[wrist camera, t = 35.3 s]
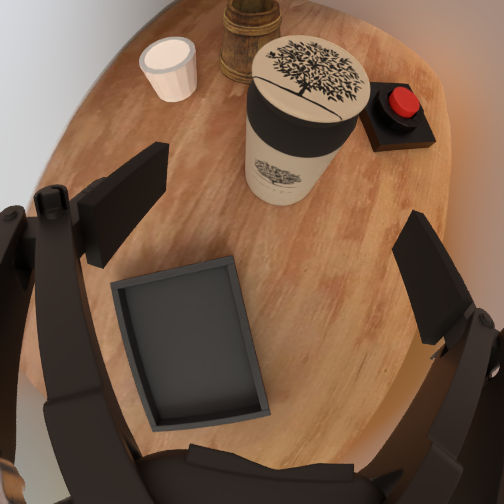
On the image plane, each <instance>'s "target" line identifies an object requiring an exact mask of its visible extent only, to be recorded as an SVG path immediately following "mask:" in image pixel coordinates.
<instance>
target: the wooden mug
mask: <svg viewBox="0 0 504 504" xmlns="http://www.w3.org/2000/svg"><path fill="white" fill-rule="evenodd" d="M281 22H282V17H281V11H280V9H279V3H278V2H277V1H275V0H229V1H228V3H227V7H226V8H225V11H224V17H223V23H224V36H223V44H222V48H221V51H220V69H221V71H222V72H223V74H225V75H226V76H227V77H229V78H231V79H233V80H235V81H238V82H242V83H251V81H252V80H253V76H252V63H253V60H254V57H255V56H256V54H257V52H258V51H259V50H260V49H261V48H262V47H263V46H264V45H266V44H267V43H269V42H271V41H273V40H275V39H278V38H280V25H281Z"/></svg>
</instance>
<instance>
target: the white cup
mask: <svg viewBox="0 0 504 504" xmlns="http://www.w3.org/2000/svg"><path fill="white" fill-rule="evenodd" d="M139 64H140V67H141V69H142V70H143V72H144V74H145V75H146V77H147V78H148V80H149V82H150V83H151V85H152V87H153V88H154V90H155V91H156V93H157V95H158V96H159V97H160V98H161V99H162V100H164V101H166V102H178V101H182V100H184V99H186V98H188V97H189V96H191V95H192V93H193V92H194V91H195V90H196V87H197V70H196V50H195V46H194V43H193V42H191V41H190V40H189V39H187V38H183V37H168V38H164V39H161V40H158V41H156V42H155V43H153V44H151V45H150V46H148V47H147V48H146V49H145V50H144V51H143V53H142V55H141V57H140V58H139Z"/></svg>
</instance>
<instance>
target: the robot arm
mask: <svg viewBox="0 0 504 504" xmlns="http://www.w3.org/2000/svg"><path fill="white" fill-rule="evenodd" d="M168 154H169V144H168V143H161V142H155V143H153V144H152V145H150V146H149V147H147V148H146V149H144V150H143V151H142V152H140V153H139V154H137V155H136V156H135V157H133V158H132V159H130V160H129V161H128V162H126V163H125V164H124V165H122V166H121V167H120V168H118V169H117V170H116V171H114V172H113V173H112V174H110V175H109V176H108V177H102V178H100V179H98V180H95V181H93V182H92V183H91V184H90V185H88V186H87V188H85V189H83V190H82V191H81V192H80V193H79V194H77V195H76V196H75V197H74V198H73V199H71V200H70V201H69V198H68V190H67V188H66V187H65V186H63V185H58V184H56V185H50V186H47V187H44V188H42V189H40V190H39V191H38V192H37V193H35V195H34V202H35V207H36V211H37V216H38V217H26V213H25V209H24V207H22V206H19V205H18V206H17V205H15V206H10V207H8V208H6V209H4V210H3V211H2V212H1V213H0V504H26V502H25V499H24V497H23V493H22V492H23V491H24V490H25V482H24V480H23V478H22V477H21V476H20V475H19V473H18V471H17V469H16V467H15V466H14V461H15V450H16V401H17V384H18V372H19V362H20V354H21V347H22V340H23V334H24V328H25V323H26V318H27V313H28V308H29V303H30V299H31V295H32V291H33V287H34V283H35V304H36V320H37V332H38V341H39V349H40V357H41V363H42V370H43V375H44V381H45V386H46V391H47V401H46V402H45V403H44V406H43V412H44V418H45V423H46V426H47V430H48V434H49V437H50V440H51V444H52V447H53V450H54V453H55V456H56V459H57V462H58V465H59V468H60V471H61V473H62V476H63V478H64V481H65V484H66V486H67V488H68V491H69V493H70V495H71V496H70V497H67V498H65V499H63V500H61V501H59V502H57V503H54V504H504V328H503V329H502V330H501V332H499V331H498V330H496V329H495V325H494V322H493V320H492V318H491V317H490V315H489V314H488V313H487V312H486V311H484V310H483V309H481V308H476V306H475V304H474V301H473V299H472V297H471V295H470V293H469V291H468V290H467V287H466V285H465V284H464V281H463V279H462V277H461V275H460V274H459V272H458V271H457V269H456V267H455V265H454V263H453V261H452V260H451V258H450V256H449V254H448V253H447V251H446V249H445V248H444V246H443V244H442V242H441V241H440V239H439V237H438V236H437V234H436V232H435V231H434V229H433V228H432V226H431V225H430V223H429V221H428V220H427V218H426V217H425V215H424V214H423V213H420V212H418V211H415V210H412V212H411V214H410V216H409V218H408V220H407V222H406V224H405V226H404V228H403V230H402V231H401V233H400V235H399V237H398V239H397V241H396V242H395V244H394V246H393V248H392V251H393V254H394V257H395V259H396V262H397V265H398V267H399V270H400V273H401V276H402V279H403V281H404V284H405V287H406V290H407V293H408V296H409V299H410V303H411V306H412V309H413V312H414V315H415V319H416V322H417V326H418V329H419V333H420V337H421V340H422V343H423V344H430V345H435V344H436V343H437V342H438V341H439V340H440V339H441V338H442V337H443V336H444V339H445V344H444V345H443V346H442V347H441V348H440V349H439V350H438V351H437V352H436V353H435V354H434V355H433V356H432V357H431V358H430V359H431V360H432V359H433V358H435V360H434V362H433V364H432V366H431V368H430V370H429V372H428V374H427V376H426V378H425V380H424V382H423V384H422V385H421V387H420V389H419V391H418V393H417V394H416V396H415V398H414V399H413V401H412V403H411V405H410V406H409V408H408V410H407V411H406V413H405V415H404V416H403V418H402V419H401V421H400V422H399V424H398V426H397V427H396V428H395V430H394V431H393V433H392V434H391V436H390V437H389V439H388V440H387V441H386V443H385V444H384V446H383V447H382V449H381V450H380V451H379V452H378V454H377V455H376V457H375V458H374V459H373V460H372V462H370V463H369V464H368V465H367V466H366V467H365V468H363V469H362V470H360V471H359V472H358V473H355V472H354V464H326V463H317V464H312V465H306V466H301V467H294V468H288V469H281V470H275V469H271V468H268V467H266V466H263V465H260V464H258V463H255V462H253V461H250V460H248V459H245V458H243V457H241V456H238V455H236V454H234V453H230V452H225V451H220V450H215V449H211V448H207V447H202V446H198V445H194V444H191V443H190V445H189V449H188V450H187V449H176V450H166V451H160V452H156V453H153V454H149V455H147V456H144V457H143V456H142V454H141V452H140V450H139V448H138V446H137V444H136V442H135V439H134V437H133V435H132V433H131V431H130V429H129V428H128V426H127V423H126V421H125V419H124V416H123V414H122V412H121V409H120V406H119V404H118V401H117V399H116V396H115V393H114V390H113V388H112V385H111V382H110V379H109V376H108V373H107V370H106V367H105V364H104V361H103V357H102V354H101V351H100V347H99V344H98V340H97V336H96V333H95V329H94V325H93V321H92V317H91V312H90V308H89V303H88V299H87V294H86V289H85V284H84V278H83V273H82V267H81V262H80V258H81V256H82V255H83V254H84V253H85V254H86V259H87V263H88V264H90V265H93V266H96V267H99V268H102V269H104V267H105V266H106V264H107V263H108V262H109V260H110V259H111V258H112V256H113V255H114V254H115V252H116V251H117V250H118V248H119V247H120V246H121V245H122V243H123V242H124V241H125V239H126V238H127V237H128V236H129V234H130V233H131V232H132V231H133V229H134V228H135V227H136V226H137V224H138V223H139V222H140V221H141V220H142V218H143V217H144V216H145V215H146V214H147V212H148V211H149V210H150V209H151V208H152V206H153V205H154V204H155V203H156V202H157V201H158V199H159V198H160V197H161V196H162V195H163V194H164V192H165V191H166V180H167V166H168ZM499 366H500V368H499V371H498V373H497V374H496V375H495V376H494V377H492V373H493V372H494V371H495V370H496V369H497V368H498V367H499Z"/></svg>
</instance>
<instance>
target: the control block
mask: <svg viewBox="0 0 504 504" xmlns="http://www.w3.org/2000/svg"><path fill="white" fill-rule="evenodd" d="M397 87H404V88H406V89H408V90H410V91H411V92H412V93H413V91H412V90H411V88H410V86H409V84H401V83H380V82H370V97H369V100H368V103H367V104H366V106H365V107H364V109H363V110H362V111H361V112H360V113H358V114H359V116H360V118H361V121H362V123H363V125H364V128H365V130H366V133H367V135H368V138H369V140H370V143H371V145H372V148H373V151H374V152H379V151H389V150H401V149H413V148H428V147H430V146H431V145H432V144H434V143H435V142H436V140H435V137H434V135H433V133H432V130H431V128H430V126H429V124H428V122H427V119H426V117H425V115H424V110H423V108H422V106H421V104H420V102H419V104H420V107H419V110H418V111H417V112H416V113H415V114H414V115H413V116H412V117H410V118H404V117H401V116H399V115H398V114H397V113H396V112H395V111H393V110H392V108H391V107H390V105H389V101H388V98H389V96H390V94H391V93H392V92H393V91H394V89H395V88H397ZM413 94H414V93H413ZM418 101H419V100H418Z"/></svg>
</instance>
